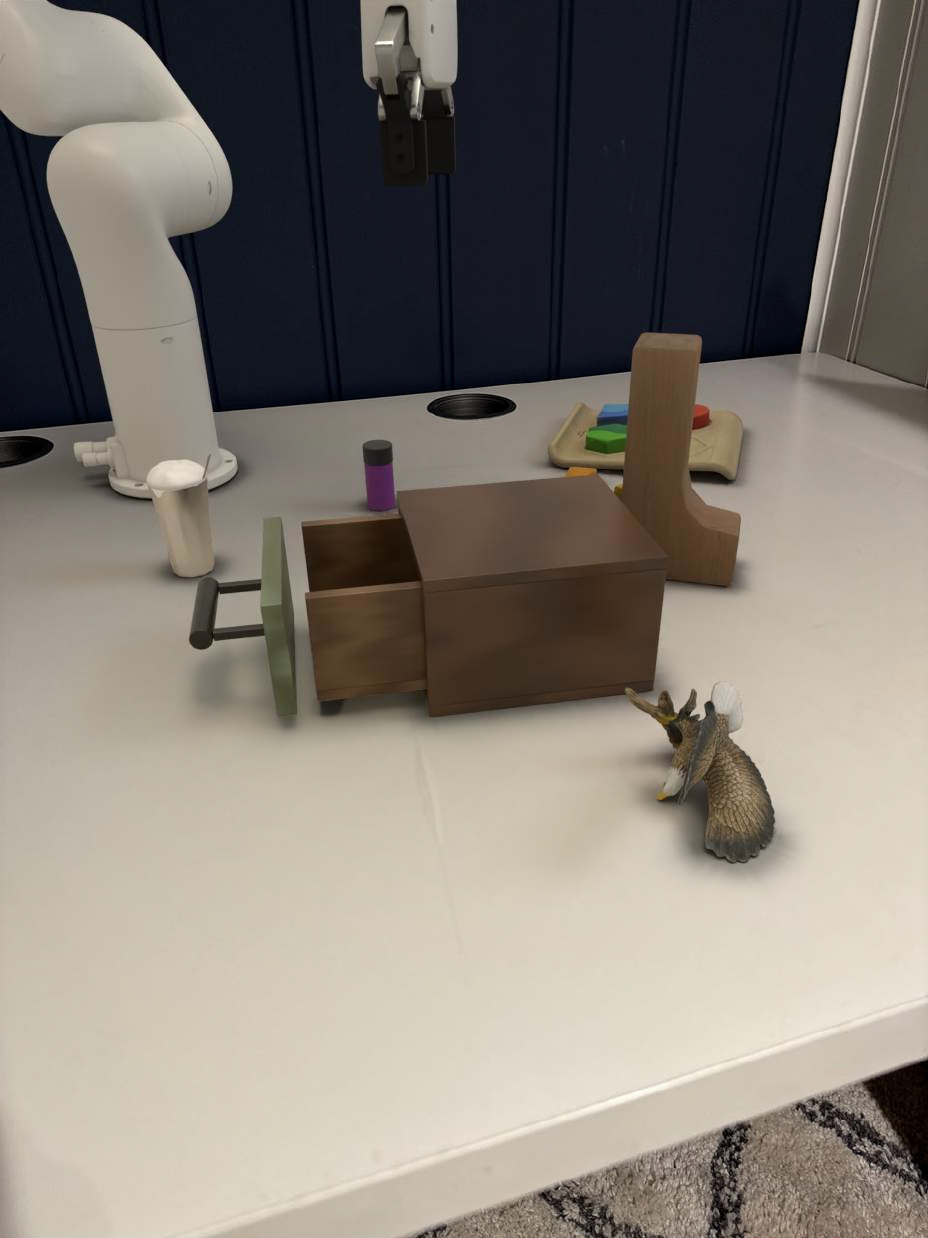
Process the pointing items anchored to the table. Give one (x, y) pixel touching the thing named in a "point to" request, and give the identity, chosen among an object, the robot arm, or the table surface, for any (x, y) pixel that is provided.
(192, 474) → the milkshake
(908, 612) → the table surface
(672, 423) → the wooden block
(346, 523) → the drawer
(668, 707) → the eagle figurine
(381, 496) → the glue stick
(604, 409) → the shape puzzle
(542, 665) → the cabinet
